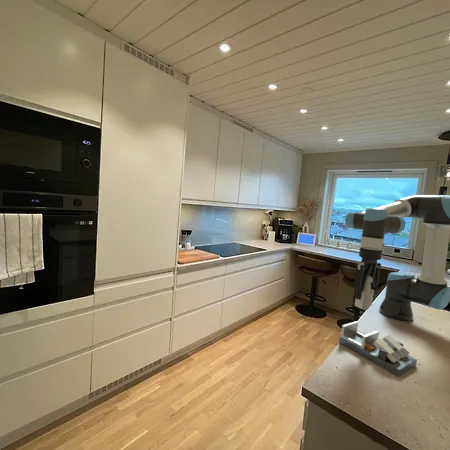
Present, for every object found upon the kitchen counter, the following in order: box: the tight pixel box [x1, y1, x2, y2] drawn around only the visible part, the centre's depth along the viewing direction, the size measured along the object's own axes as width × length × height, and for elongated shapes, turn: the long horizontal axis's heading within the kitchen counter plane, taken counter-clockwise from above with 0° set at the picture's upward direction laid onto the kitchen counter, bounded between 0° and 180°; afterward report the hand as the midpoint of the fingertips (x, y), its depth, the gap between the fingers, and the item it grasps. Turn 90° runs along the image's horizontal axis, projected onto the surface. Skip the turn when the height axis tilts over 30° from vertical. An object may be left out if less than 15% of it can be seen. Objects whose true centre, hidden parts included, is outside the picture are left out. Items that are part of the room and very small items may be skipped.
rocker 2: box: [381, 334, 410, 358], centre depth 94 cm, size 4×8×2 cm, turn 31°
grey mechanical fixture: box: [338, 321, 418, 377], centre depth 97 cm, size 13×22×8 cm, turn 31°
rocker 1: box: [373, 338, 401, 363], centre depth 91 cm, size 4×8×2 cm, turn 31°
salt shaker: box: [357, 276, 373, 311], centre depth 100 cm, size 6×6×13 cm
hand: (363, 305), depth 100 cm, fingers closed on salt shaker, 6 cm apart
